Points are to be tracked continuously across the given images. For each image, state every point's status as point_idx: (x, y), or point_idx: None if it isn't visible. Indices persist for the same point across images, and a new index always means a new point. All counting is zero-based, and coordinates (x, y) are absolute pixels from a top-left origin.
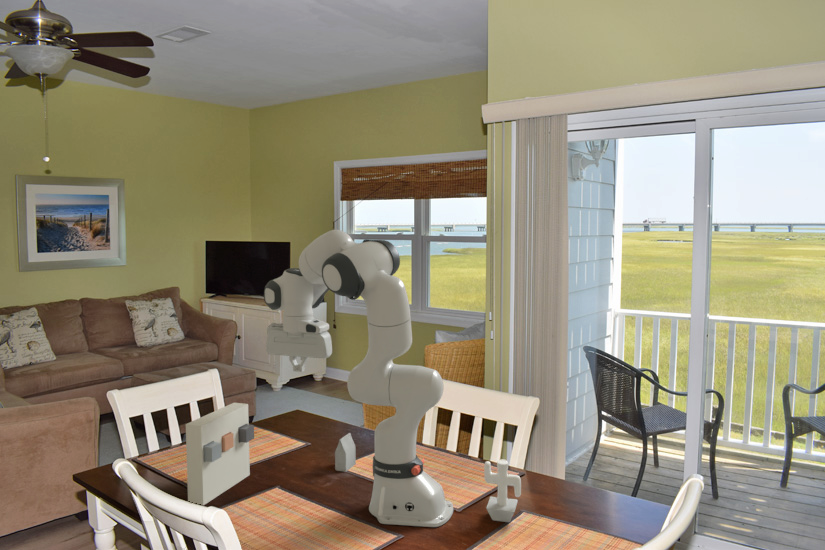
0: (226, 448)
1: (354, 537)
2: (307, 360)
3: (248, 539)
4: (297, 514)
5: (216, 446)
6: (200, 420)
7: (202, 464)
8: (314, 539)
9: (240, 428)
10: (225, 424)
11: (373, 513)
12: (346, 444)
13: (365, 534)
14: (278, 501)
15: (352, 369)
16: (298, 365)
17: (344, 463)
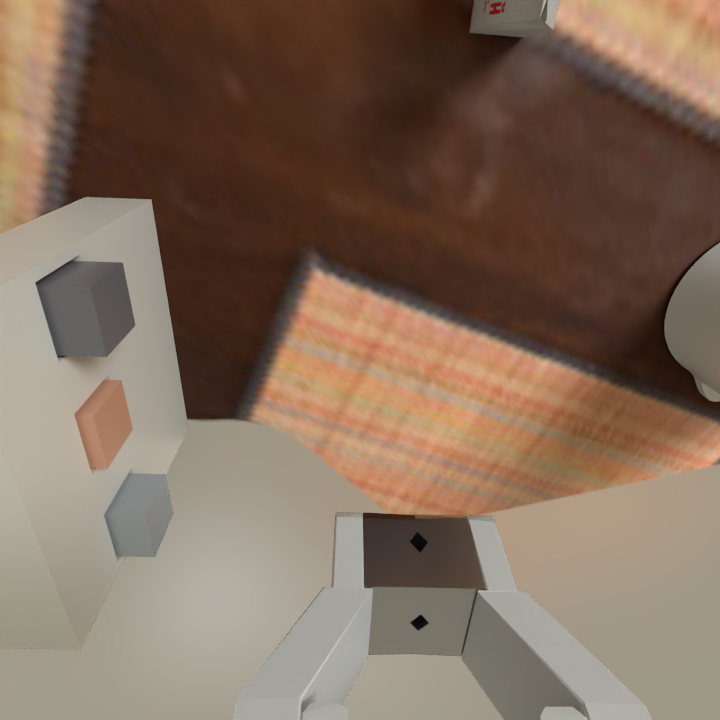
0: (127, 427)
1: (639, 461)
2: (615, 679)
3: None
4: (462, 405)
5: (151, 532)
6: (5, 607)
7: None
8: (546, 487)
9: (67, 353)
10: (60, 485)
11: (684, 366)
12: None
13: (664, 444)
14: (374, 355)
15: None
16: (421, 635)
17: (527, 33)
